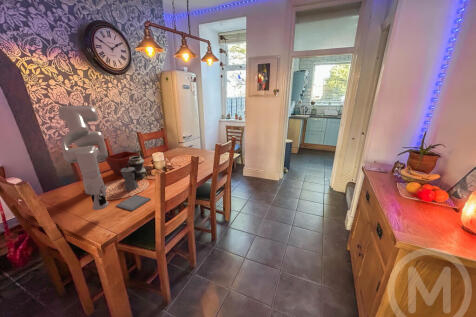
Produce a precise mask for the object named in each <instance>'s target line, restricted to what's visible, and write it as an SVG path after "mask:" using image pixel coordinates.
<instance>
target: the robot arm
mask: <svg viewBox="0 0 476 317" xmlns="http://www.w3.org/2000/svg"><path fill="white" fill-rule="evenodd" d="M57 113H58V115H59V116H60V118H61V119H62V120H63V121H64V122H65V123H66V124H67V125H66V126H67V129H68V132H66V134H65V135H64V136H63V138H62V140H61V143H60V144H61V145H60V147H61V151H62V156H63V159H64V160H65V162H66V163H69V164H72V163H73V164H75V163H77V164H78V166H79V169H80V173H81V176H82V183H83V187H84V193H85V194H86V195H89V196H90V197H91V201H92V204H94V195H96V196H98V198H99V199H98V200H99V203H100V205H103V204H105V203H106V201H107V198H106V197H107V195H108V193H107V192H106V191H107V188H108V187H107V185H105V183H104V179H103V177H102V171H101V170H100V169H101V168H100V164H99V162H98V161H103V160H106V158H107V157H108V156H109V153H108V149H107V145H106V142H105V138H104V135H103V133H102V132H100V131H97V130H94V131H90V128H89V126H88V123H91V122H97V121H98V120H99V114H98V112H97V110H96V109H95V107H94V106H93V105H64V106H59V107H58V108H57ZM72 143H74V145H75V146H76V147H70V145H72ZM100 194H101V196H100Z"/></svg>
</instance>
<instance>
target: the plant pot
mask: <svg viewBox="0 0 476 317" xmlns="http://www.w3.org/2000/svg"><path fill="white" fill-rule="evenodd" d="M133 156H140V153H138V152H134V151H133V152H132V151H126V150H125V151H121V152H117V153H115V154H110V155H108V157H107V158H106V159H105V161H106V163H107V165H108V166H109V168H110V170H111V171H112V172H113V173H114V174H115V175H117V176H120V177H121V176H122V177H123V175H122V173H121V171H120V170H122V169H123V168H126V166H128V168H129V167H130V165H129V164H128V161H129V160H130V157H133Z"/></svg>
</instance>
